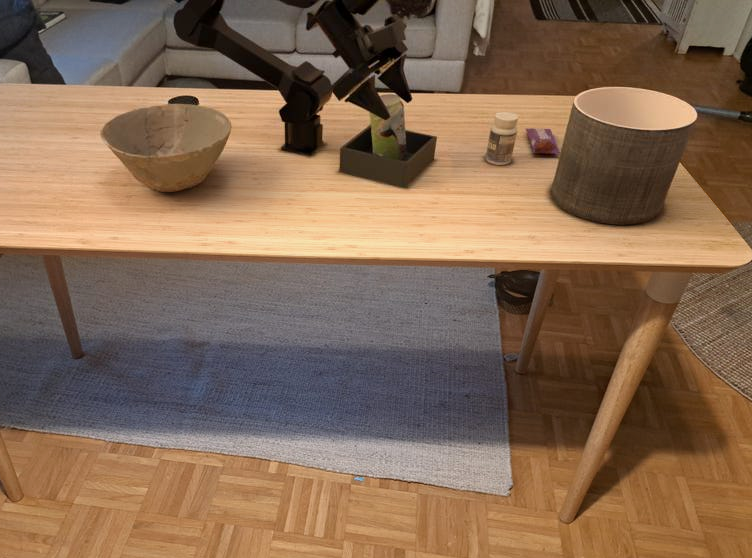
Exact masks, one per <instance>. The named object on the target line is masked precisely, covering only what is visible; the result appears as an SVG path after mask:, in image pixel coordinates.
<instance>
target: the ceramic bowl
mask: <svg viewBox="0 0 752 558" xmlns="http://www.w3.org/2000/svg"><path fill="white" fill-rule="evenodd" d="M231 133H232V122H231V121H230V119H229V118H228V117H227V116H226V115H225V114H224V113H223V112H221V111H220V110H217V109H214V108H212V107H209V106H203V105H198V104H190V103H167V104H161V105H152V106H149V107H142V108H136V109H133V110H130V111H126V112H124V113H121V114H118V115H116V116H115V117H114V118H112V119H110V120H109V121H108V122H106V123H105V124H104V125H103V127H102V129H101V130H100V135H99V136H100V138H101V140H102V141H103V143H104V144H105V145H106V146H107V147H108V149H109V150H110V151H111V152H112V153H113V154H114V155H115V156H116V157H117V159H118V160H119V161H120V162H121V163H122V165H124V167H125V168H126V169H127V170H128V171H129V173H130V174H131V175H132V176H133V177H134V178H135V180H137V181H138V182H139V183H141V184H142V185H143V186H145V187H147V188H149V189H151V190H154V191H158V192H163V193H171V192H172V193H173V192H179V191H182V190H185V189H190V188H193V187H195V186H197V185H199V184H200V183H201V182H202V181H204V180H205V179H206V177H207V176H208V174H210V172H211V171H212V170H213V168H214V167H215V165H216V163H217V162H218V160H219V158H220V156H221V155H222V153H223V151H224V148H225V147H226V145H227V142H228V140H229V138H230V135H231Z"/></svg>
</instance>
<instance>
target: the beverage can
mask: <svg viewBox="0 0 752 558" xmlns="http://www.w3.org/2000/svg"><path fill="white" fill-rule="evenodd" d="M379 96H380V98H381V99H382V101H383V103H384V104H385V106H386V108H387V110H388V112H389V114H390V118H389V119H387V120H384V119H382V118H380V117H378V116H376V115H374V114H373V113H371V112H369V111H368V112H369V122H370V125H371V134H372V144H373V154H374V155H379V156H383V157H387V158H392V159H396V160H400V161H403V160H404V159H405V158H406V156H407V152H406V136H405V130H406V120H405V105H404V103H403V101H402V99H401V98H400V97H399V96H398V95H396V94H395V93H394V94H393V93H388V94H386V93H385V94H381V95H379Z"/></svg>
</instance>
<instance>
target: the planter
mask: <svg viewBox="0 0 752 558" xmlns="http://www.w3.org/2000/svg"><path fill="white" fill-rule="evenodd" d="M571 105H572V106H571V109H570V113H569V114H570V115H569V118H568V121H567V125H566V129H565V134H564V138H563V141H562V146H561V149H560V154H559V157H558V161H557V165H556V169H555V173H554V177H553V181H552V184H551V187H550V196H551V199H552V200H553V202H554V203H555V204H556V205H557V206H558V207H559V208H560V209H561V208H562V209H563V210H564V211H566V212H568V213H570V214H571V215H574V216H576V217H578V218H582V219H584V220H589V221H591V222H595V223H596V222H597V223H601V224H608V225H638V224H642V223H646V222H649V221H651V220H653V219H655V218H656V217H658V216H659V215H660V214H661V212H662V210H663V207H664V204H665V201H666V199H667V198H666V197H667V196H668V193H669V190H670V188H671V186H672V183H673V180H674V178H675V175H676V172H677V170H678V168H679V165H680V164H681V163H680V162H681V160H682V157H683V155H684V153H685V150H686V148H687V145H688V143H689V140H690V136H691V134H692V133H693V129H694V127H695V124H696V122H697V119H698V112H697V110H696V109H695V108H694V107H693V106H692V105H691V104H689V103H688V102H687V101H685V100H683V99H680V98H678V97H676V96H673V95H670V94H668V93H667V94H666V93H663V92H660V91H656V90H650V89H645V88H639V87H629V86H627V87H626V86H605V87H596V88H591V89H588V90H585V91H582V92H579V93H578V94H576V96H575V97H574V98H573V101H572V104H571Z"/></svg>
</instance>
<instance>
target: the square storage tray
mask: <svg viewBox="0 0 752 558" xmlns="http://www.w3.org/2000/svg"><path fill="white" fill-rule="evenodd" d="M405 136H406V152H407V156H406V158H405V159H404V160H403V161H400V160H396V159H392V158H387V157H383V156H379V155H374V154H373V144H372V134H371V124H369V125H368V126H366V128H364V129H363V130H361V131H360V132H359V133H357V134H356V135H355V136H354V137H352V138H351V139H350V140H348V141H347V142H345V143H344V144H343V145H342V146H341V147H340V148H339V168H338V169H339V170H338V172H339V173H342V174H346V175H350V176H354V177H358V178H362V179H366V180H371V181H375V182H379V183H382V184H386V185H390V186H394V187H397V188H403V189H406V188H407V187H408V186H409V185H411V183H412V182H413V181H414V180H415V179H416V178H417V177H418V176H419V175H420V174H422V173H423V171H424V170H426V169H427V168H428V167H429V166H430V165H431V164H432V163H433V162H434V161H435V155H436V148H437V142H438V141H437V139H438V136H436V135H431V134H427V133H422V132H417V131H412V130H407V129H405Z"/></svg>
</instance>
